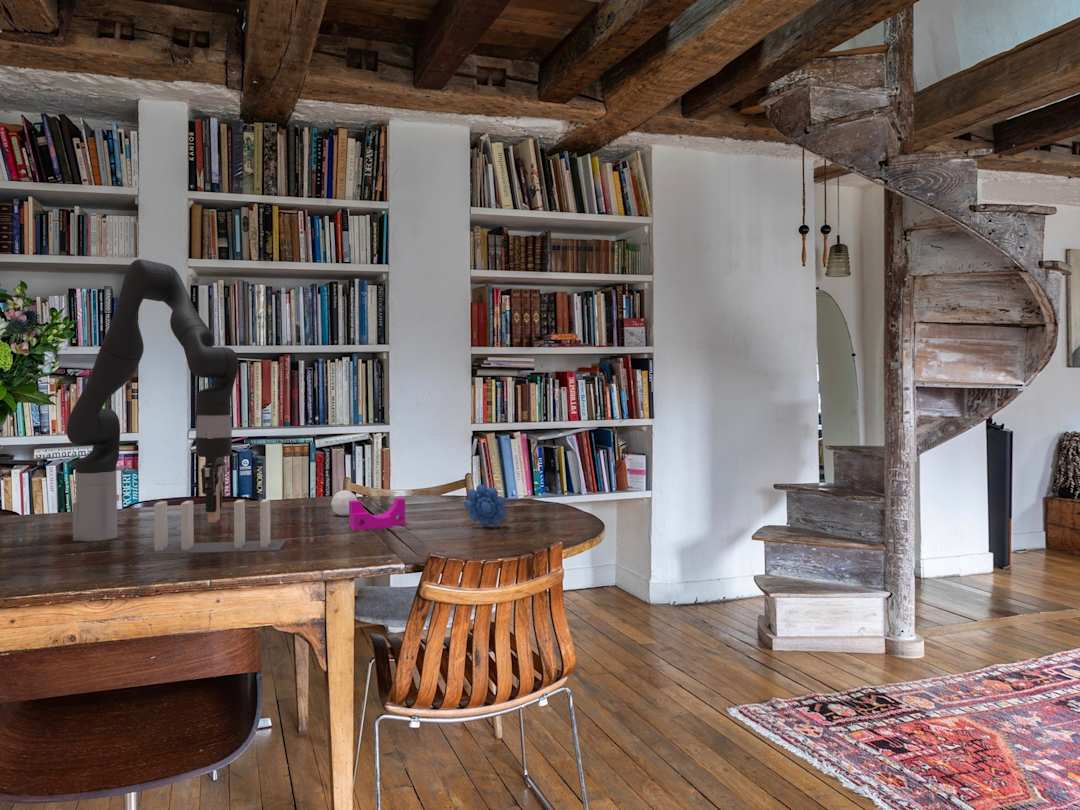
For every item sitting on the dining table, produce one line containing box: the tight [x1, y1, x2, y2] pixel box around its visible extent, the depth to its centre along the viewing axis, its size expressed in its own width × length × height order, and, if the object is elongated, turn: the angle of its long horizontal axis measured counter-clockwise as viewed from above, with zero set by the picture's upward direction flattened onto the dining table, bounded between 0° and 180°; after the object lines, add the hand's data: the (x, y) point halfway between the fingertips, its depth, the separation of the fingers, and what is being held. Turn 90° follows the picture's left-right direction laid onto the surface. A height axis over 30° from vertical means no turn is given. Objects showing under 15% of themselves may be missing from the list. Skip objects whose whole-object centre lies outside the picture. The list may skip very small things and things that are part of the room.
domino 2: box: [180, 500, 195, 550], centre depth 197 cm, size 2×5×11 cm, turn 10°
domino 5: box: [259, 498, 272, 547], centre depth 200 cm, size 2×5×11 cm, turn 10°
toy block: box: [348, 497, 406, 531], centre depth 230 cm, size 15×6×8 cm, turn 115°
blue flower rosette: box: [464, 484, 507, 528], centre depth 227 cm, size 12×7×12 cm, turn 97°
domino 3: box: [207, 478, 221, 523], centre depth 186 cm, size 2×5×11 cm, turn 10°
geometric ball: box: [330, 489, 358, 517], centre depth 247 cm, size 8×8×8 cm
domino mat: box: [135, 539, 287, 556], centre depth 198 cm, size 32×12×1 cm, turn 100°
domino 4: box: [233, 499, 246, 548], centre depth 199 cm, size 2×5×11 cm, turn 10°
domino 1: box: [153, 500, 169, 551], centre depth 196 cm, size 2×5×11 cm, turn 10°
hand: (213, 509), depth 186 cm, fingers closed on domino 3, 5 cm apart
